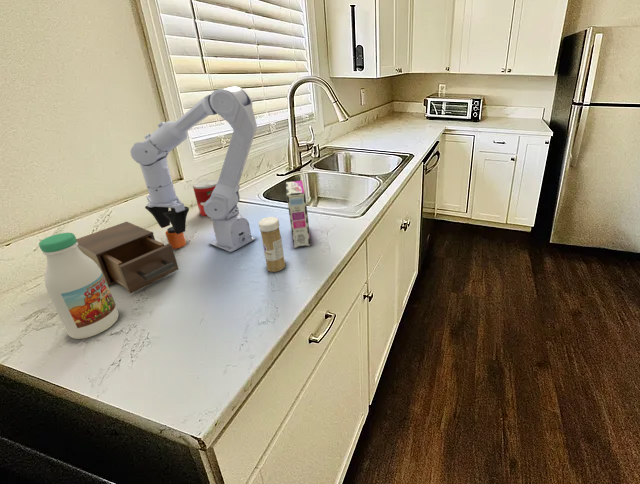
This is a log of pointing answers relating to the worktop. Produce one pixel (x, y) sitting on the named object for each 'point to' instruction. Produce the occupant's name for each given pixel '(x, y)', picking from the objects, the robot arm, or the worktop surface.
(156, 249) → the drawer
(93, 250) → the cabinet
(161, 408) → the worktop surface
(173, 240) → the orange cylinder
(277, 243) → the sprinkles bottle
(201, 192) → the red coffee cup
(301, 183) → the candy bar box
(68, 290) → the milk bottle
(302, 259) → the worktop surface
